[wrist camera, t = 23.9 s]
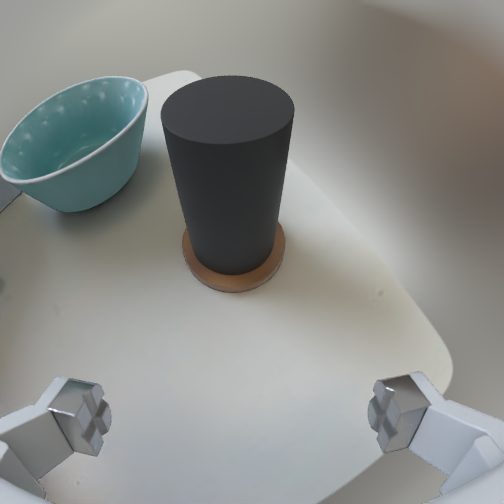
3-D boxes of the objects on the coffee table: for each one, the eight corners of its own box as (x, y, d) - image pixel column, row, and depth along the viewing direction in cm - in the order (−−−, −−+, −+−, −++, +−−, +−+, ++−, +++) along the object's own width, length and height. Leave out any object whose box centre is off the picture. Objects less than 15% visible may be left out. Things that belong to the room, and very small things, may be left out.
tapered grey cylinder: (259, 198, 25) (268, 70, 15) (285, 263, 22) (317, 131, 12) (185, 216, 24) (156, 87, 14) (201, 285, 21) (167, 158, 11)
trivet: (303, 243, 24) (305, 237, 24) (235, 313, 21) (235, 309, 21) (232, 192, 27) (232, 185, 26) (164, 248, 24) (162, 242, 23)
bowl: (171, 123, 32) (160, 63, 25) (152, 233, 25) (124, 163, 17) (60, 142, 31) (38, 94, 24) (18, 244, 24) (-27, 195, 17)
